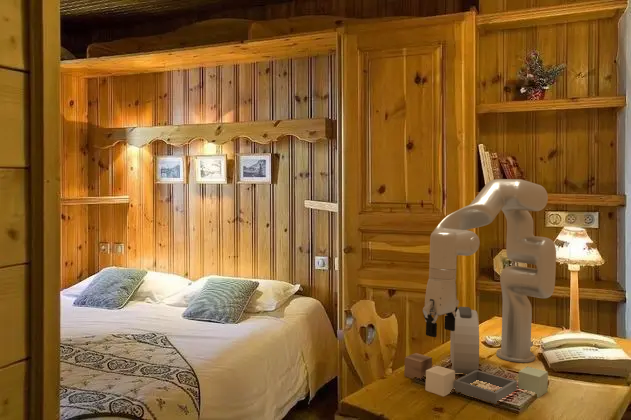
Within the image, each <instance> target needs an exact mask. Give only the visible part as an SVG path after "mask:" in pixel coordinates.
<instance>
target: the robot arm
mask: <svg viewBox="0 0 631 420" xmlns="http://www.w3.org/2000/svg"><path fill="white" fill-rule="evenodd" d="M548 201H549V197H548V192H547V190H546V188H545V187H544V186H542V185H541V184H538V183H534V182H532V181H529V180H524V179H518V178H514V179H513V178H512V179H511V178H510V179H509V178H507V179H506V178H498V179H492V180H489V181H488V182H486V184H485V185H484V187H482V189H480V191H479V193H478V194H477V195H476V197H475V198H474V199H473V200H472V201H471V202H470V203H469V205H466V206H463V207H461V208H459V209H457V210H455V211H453V212H452V213H450V214H447V215H446V216H445V217H444V218H442V219H441V221H439V223H438V225H436V227H435V228H434V230H433V231H432V232H431V233H430V237H429V240H430V241H429V265H428V266H429V268H428V279H427V283H426V290H425V296H424V307H423V308H422V313H423V317H424V321H425V335H426V336H427V337H431V338H436V337H437V335H438V333H437V332H438V323H437V322H436V321H437V319H438V318H439V316H443V315H444V328H443V329H444V330H446V331H450V332H451V331H455V317H456V312H457V309H458V307H459V303H460V301H459V300H458V299H457V284H456V283H457V282H456V280H457V257H458V256H466V257H467V256H469V257H470V256H472V255H474V254H475V253H476V252H477V251H478V250H479V248H480V244H481V242H480V237H479V236H478V234H476V233H475V232H474V231H472V229H476V228H480V227H484V226H487V225H490V224H492V223H493V221H494V220H495V219H496V217H497V215H499V213H500V212H502V213H503V214H504V217H505V219H506V247H505V249H506V256H507V259H508V260H510V261H512V262H515V263H520V264H526V265H528V264H529V265H535V266H536V268H534V267H533V268H532V267H526V266H519V265H510V266H506V267H504V268H503V269H502V271H501V273H500V276H499V281H500V283H499V284H500V288H501V297H502V310H501V311H502V313H501V314H502V316H501V341H500V343H501V344H500V345H501V346H500V348H499V349H496V354H495V355H496V356H497V357H498V358H500V359H502V360H505V361H509V362H513V363H531V362H533V361H535V360H536V355H535V354H534V353H533V352H531V349H532V348H531V347H534V343H533V341H532V321H533V320H532V319H533V317H532V316H533V315H532V313H533V311H532V310H533V308H532V307H533V306H532V304H531V301H530V300H529V298H528V297H533V298H539V299H548V298H550V297H551V296H552V295H553V294H554V291H555V286H556V270H557V269H556V268H557V248H556V245H555V243H554V241H553V240H552V239H551V238H549V237H545V236H537V235H536V236H535V235H534V219H533V217H532V215H531V213H530V212H539V211H542V210H543V209H545V207H546V206H547V205H548Z"/></svg>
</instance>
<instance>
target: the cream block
mask: <svg viewBox="0 0 631 420" xmlns="http://www.w3.org/2000/svg"><path fill="white" fill-rule="evenodd" d="M455 380H456V374H455V371H454V370H452V368H447V367H444V366H440V365H435V366H432V368H430V369H428V370H426V379H425V386H424V387H425V388H424V389H425V391H426V392H429V393H433V394H435V395H438V396H440V397H445V396H447V395H449V394H451V393H452V392H451V390H452V389H454V388H455ZM450 392H451V393H450Z"/></svg>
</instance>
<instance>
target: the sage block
mask: <svg viewBox="0 0 631 420" xmlns="http://www.w3.org/2000/svg"><path fill="white" fill-rule="evenodd" d="M517 377H518V378H517V379H518V381H517V383H518V384H517V389H518V388H519V389H524V390H528V391H532V392H535V393H536V394H537V397H536V398H538V399H539V398H540V397H542V396H543V395H544V394H545V395H546V393H548V384H549V383H548V381H549V380H548V379H549V371H547V370H543V369H539V368H536V367H532V366H531V367H530V366H529V365H528V366H525V367H524V368H522V369H520V370H519V371H518V376H517Z"/></svg>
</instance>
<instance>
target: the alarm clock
mask: <svg viewBox="0 0 631 420" xmlns="http://www.w3.org/2000/svg"><path fill="white" fill-rule="evenodd" d="M457 308H458V309H457V312H456V317H455V331H450V341H449V342H450V349H449V350H450V364H451V363H452V366H451V370H454V371H455V373H464V374H469V373H471V372H473V371H475V370H479V366H480V365H479V364H480V325H479V324H480V323H479V314H478V312H477V310H476V309H471V307H469V306H458V307H457Z"/></svg>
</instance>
